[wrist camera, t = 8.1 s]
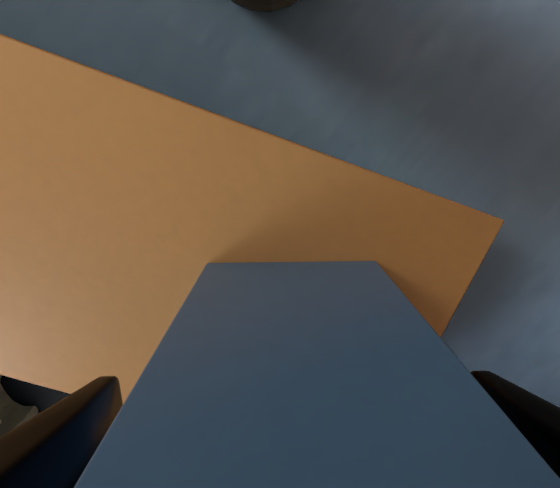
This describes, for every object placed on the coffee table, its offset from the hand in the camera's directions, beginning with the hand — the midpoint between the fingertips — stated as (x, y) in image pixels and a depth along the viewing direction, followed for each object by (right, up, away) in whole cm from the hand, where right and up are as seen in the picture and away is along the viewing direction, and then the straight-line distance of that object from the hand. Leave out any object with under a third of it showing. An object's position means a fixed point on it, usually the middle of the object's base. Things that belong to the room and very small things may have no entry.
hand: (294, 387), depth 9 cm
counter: (-5, +4, +6) cm, 9 cm away
